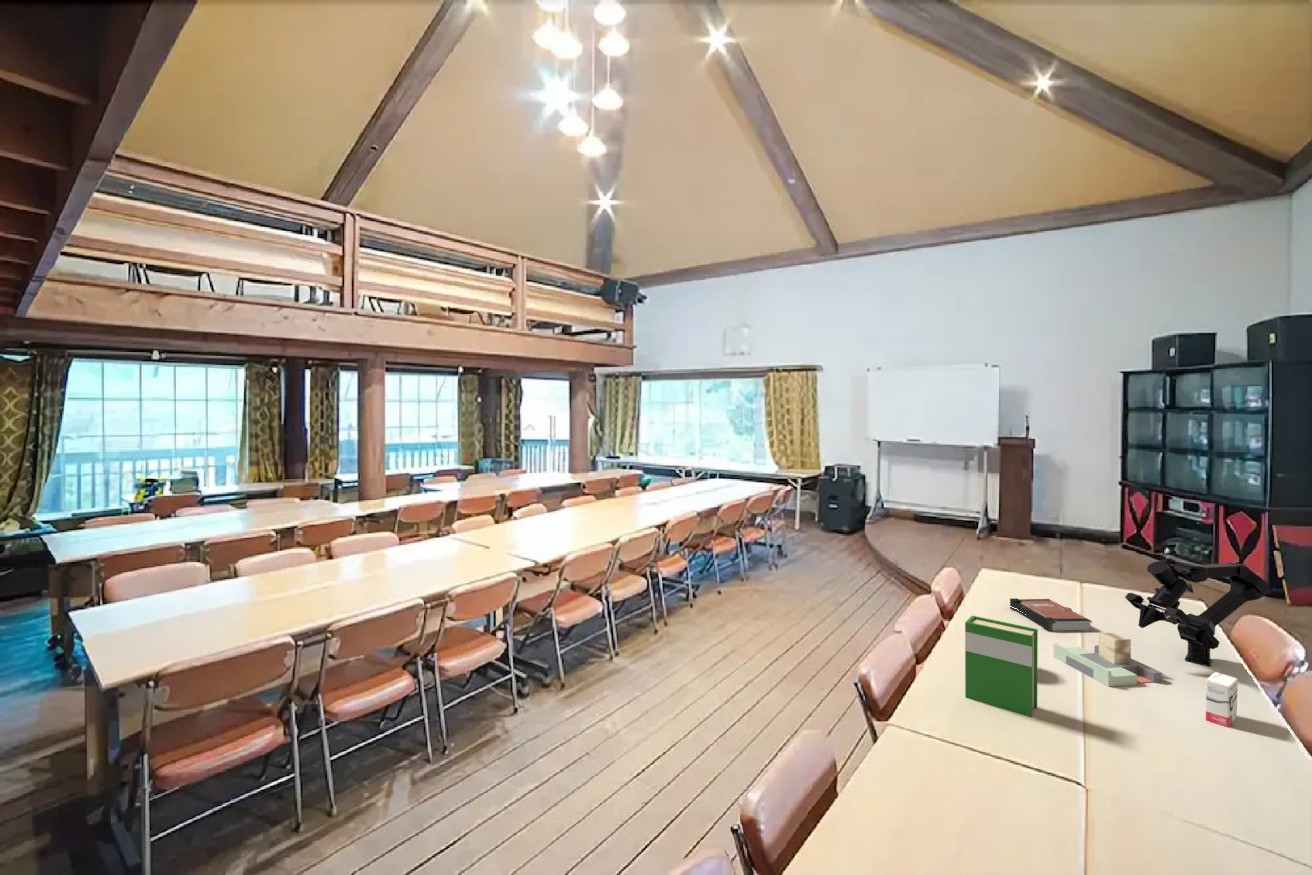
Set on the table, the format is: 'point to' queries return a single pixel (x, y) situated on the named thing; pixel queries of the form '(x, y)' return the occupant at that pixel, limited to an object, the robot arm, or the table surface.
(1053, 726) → the table surface
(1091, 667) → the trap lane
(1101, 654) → the beech block
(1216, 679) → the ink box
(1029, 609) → the book
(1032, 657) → the hardback book
